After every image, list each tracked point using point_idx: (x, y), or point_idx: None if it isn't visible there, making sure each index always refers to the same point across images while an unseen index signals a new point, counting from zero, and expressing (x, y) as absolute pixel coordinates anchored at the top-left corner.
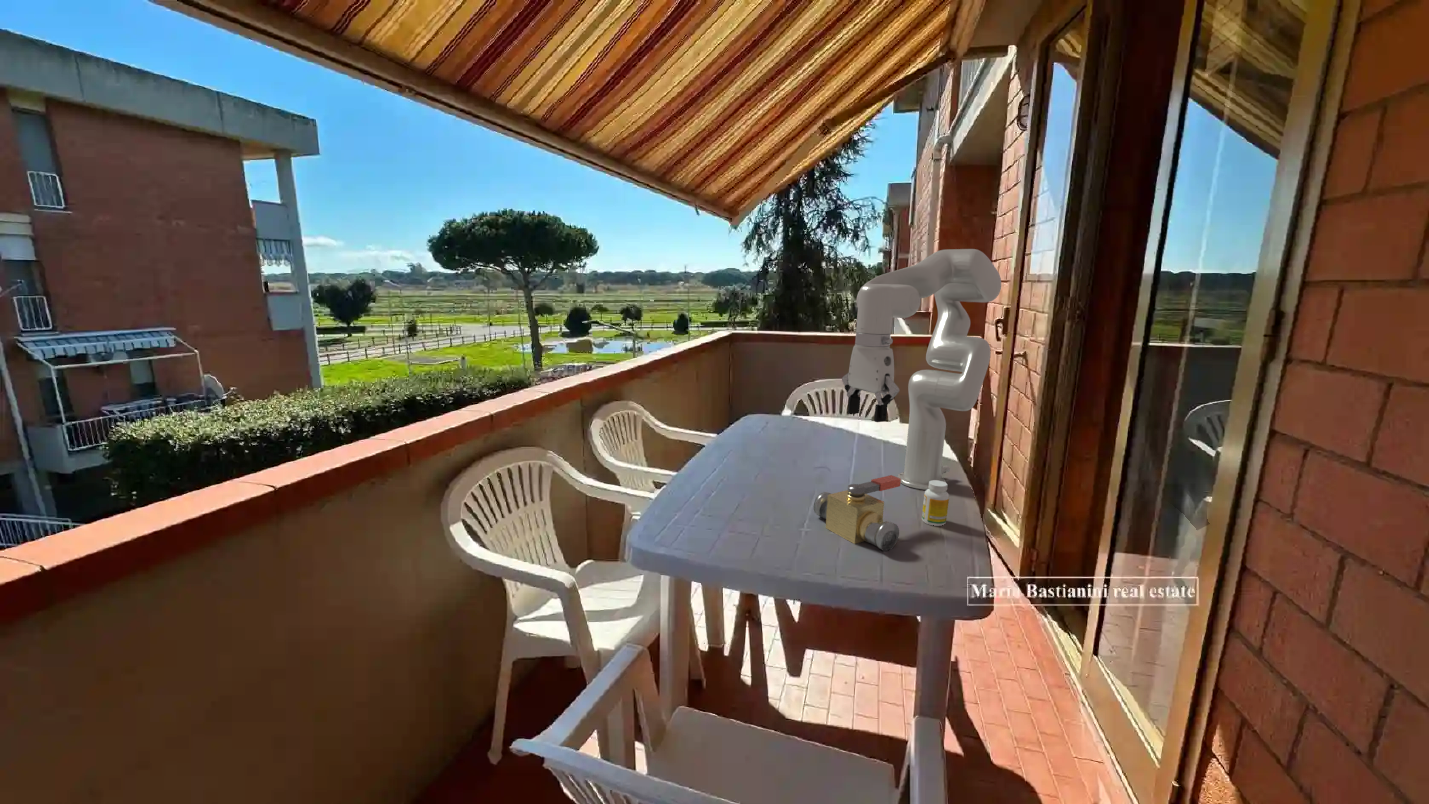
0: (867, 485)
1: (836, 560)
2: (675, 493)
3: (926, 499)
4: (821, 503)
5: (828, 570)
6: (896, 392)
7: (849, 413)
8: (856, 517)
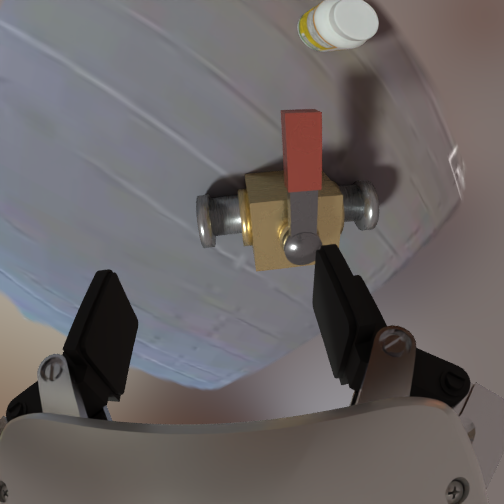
0: (307, 220)
1: None
2: None
3: (335, 48)
4: (213, 237)
5: None
6: (493, 408)
7: (135, 326)
8: None
